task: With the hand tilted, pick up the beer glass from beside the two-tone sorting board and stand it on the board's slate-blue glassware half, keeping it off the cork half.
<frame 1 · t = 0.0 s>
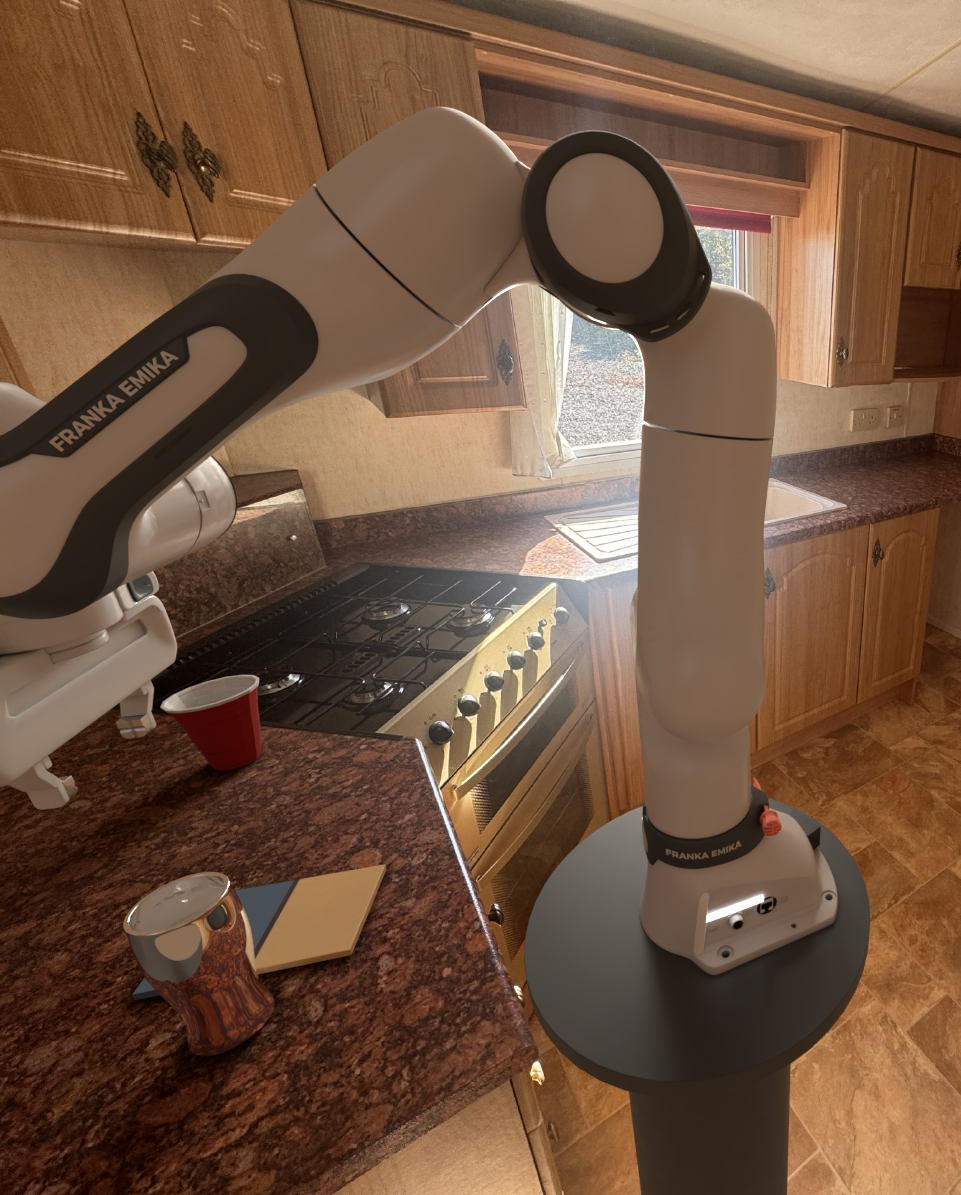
hand: (103, 765, 51), 26 cm above the countertop, tool pointing down, fingers open, 8 cm apart
plastic cup: (236, 759, 94), on the countertop
sorting board: (275, 927, 67), on the countertop
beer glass: (234, 1024, 58), on the countertop
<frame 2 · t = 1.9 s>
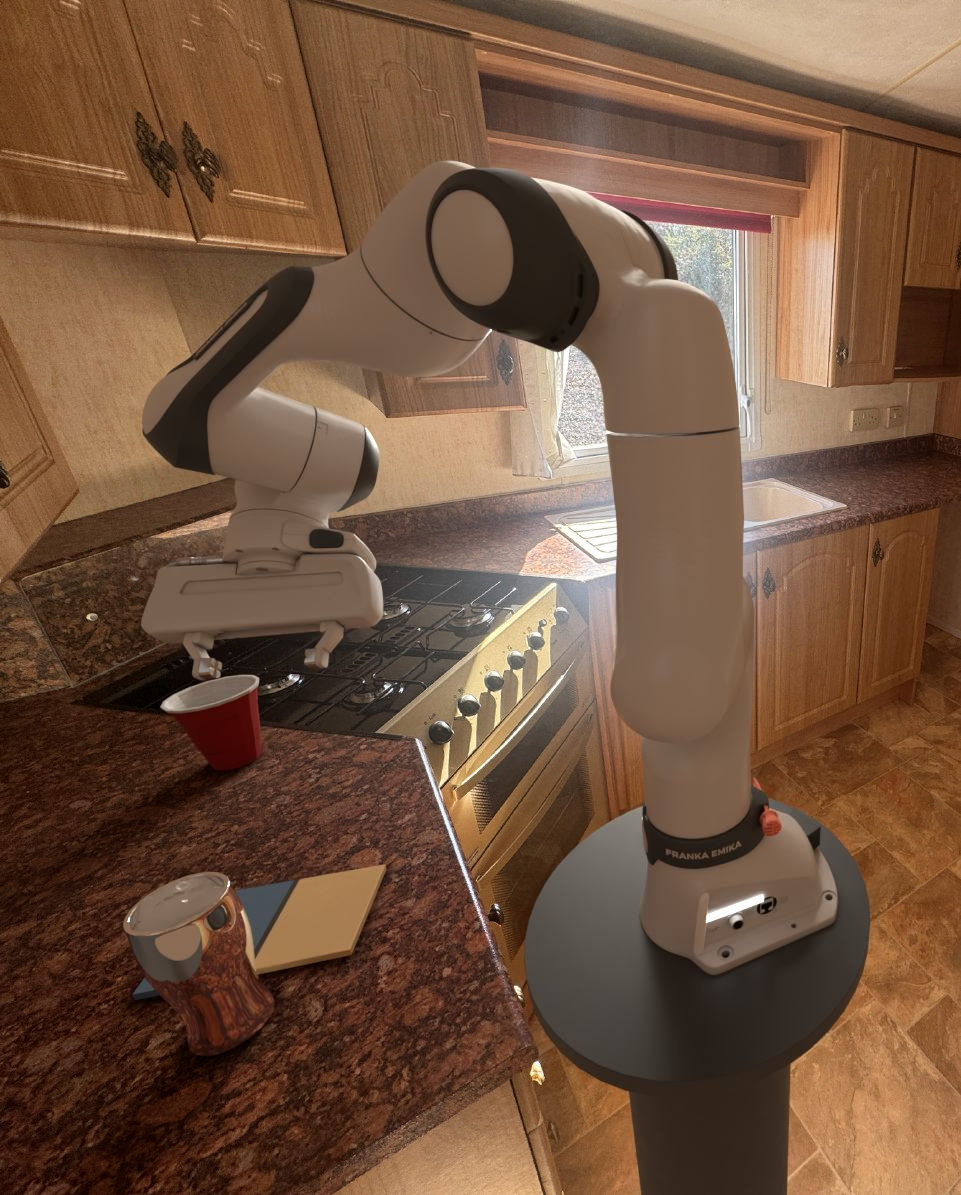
hand: (261, 672, 64), 27 cm above the countertop, tool tilted 45°, fingers open, 8 cm apart
nothing on the countertop moved.
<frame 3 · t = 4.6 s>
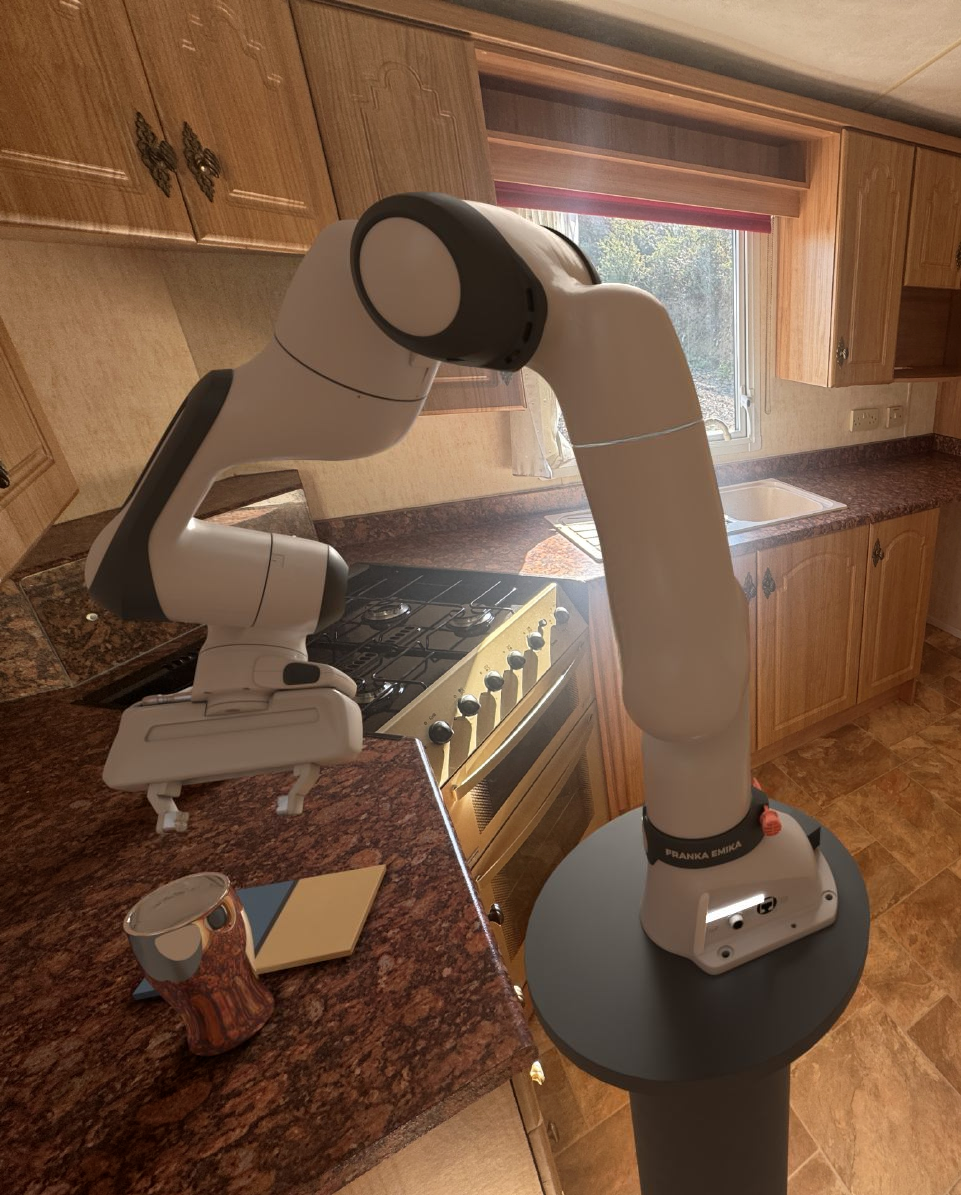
hand: (231, 823, 60), 16 cm above the countertop, tool tilted 45°, fingers open, 8 cm apart
nothing on the countertop moved.
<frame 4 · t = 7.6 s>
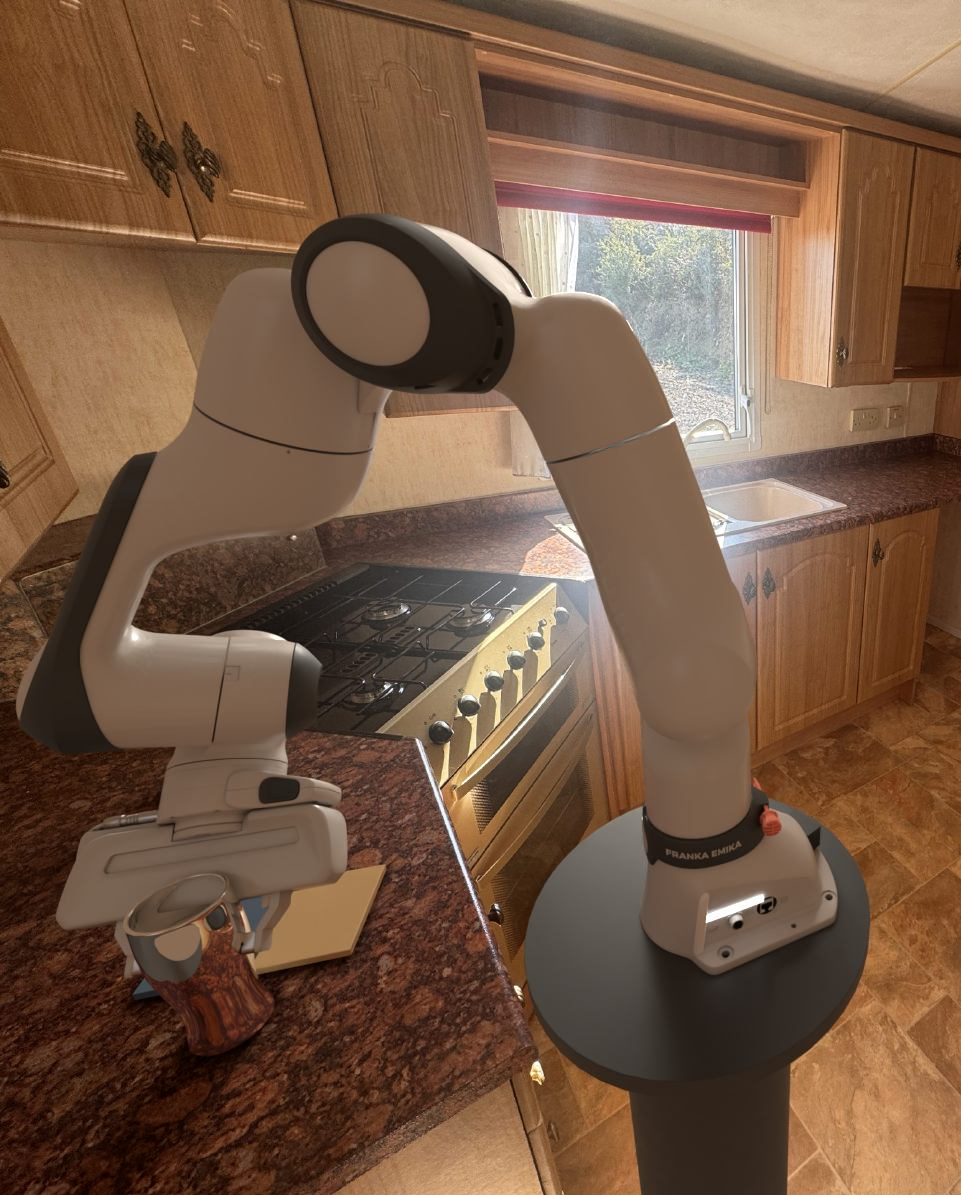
hand: (200, 964, 54), 8 cm above the countertop, tool tilted 45°, fingers closed on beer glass, 7 cm apart
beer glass: (234, 1024, 58), on the countertop, touching gripper
everything else where it was.
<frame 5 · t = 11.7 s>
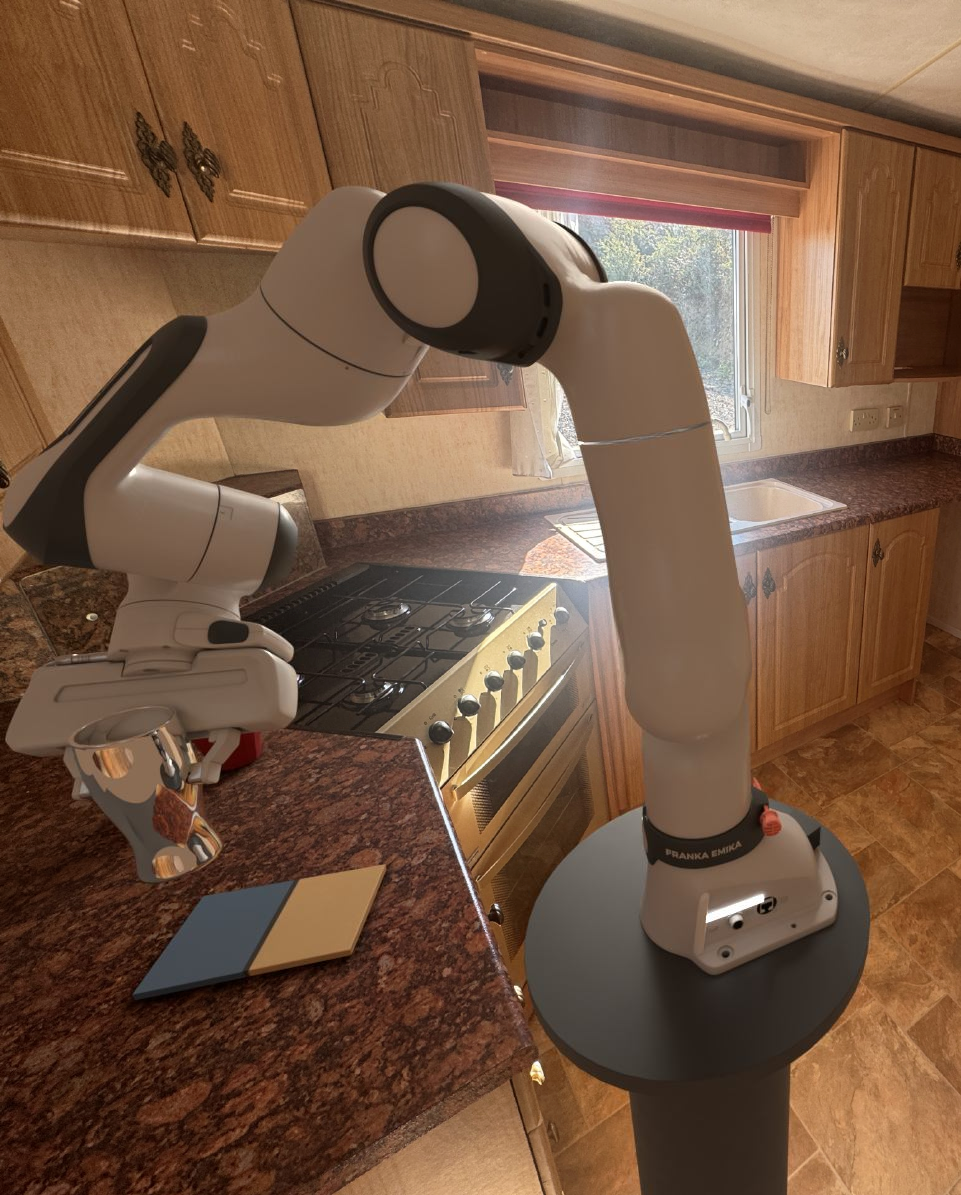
hand: (147, 791, 56), 21 cm above the countertop, tool tilted 45°, fingers closed on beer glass, 7 cm apart
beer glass: (183, 860, 59), point 13 cm above the countertop, touching gripper
everything else where it was.
when the fingers open (9 cm above the countertop, at t = 15.9 s): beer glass stays where it is, resting on sorting board.
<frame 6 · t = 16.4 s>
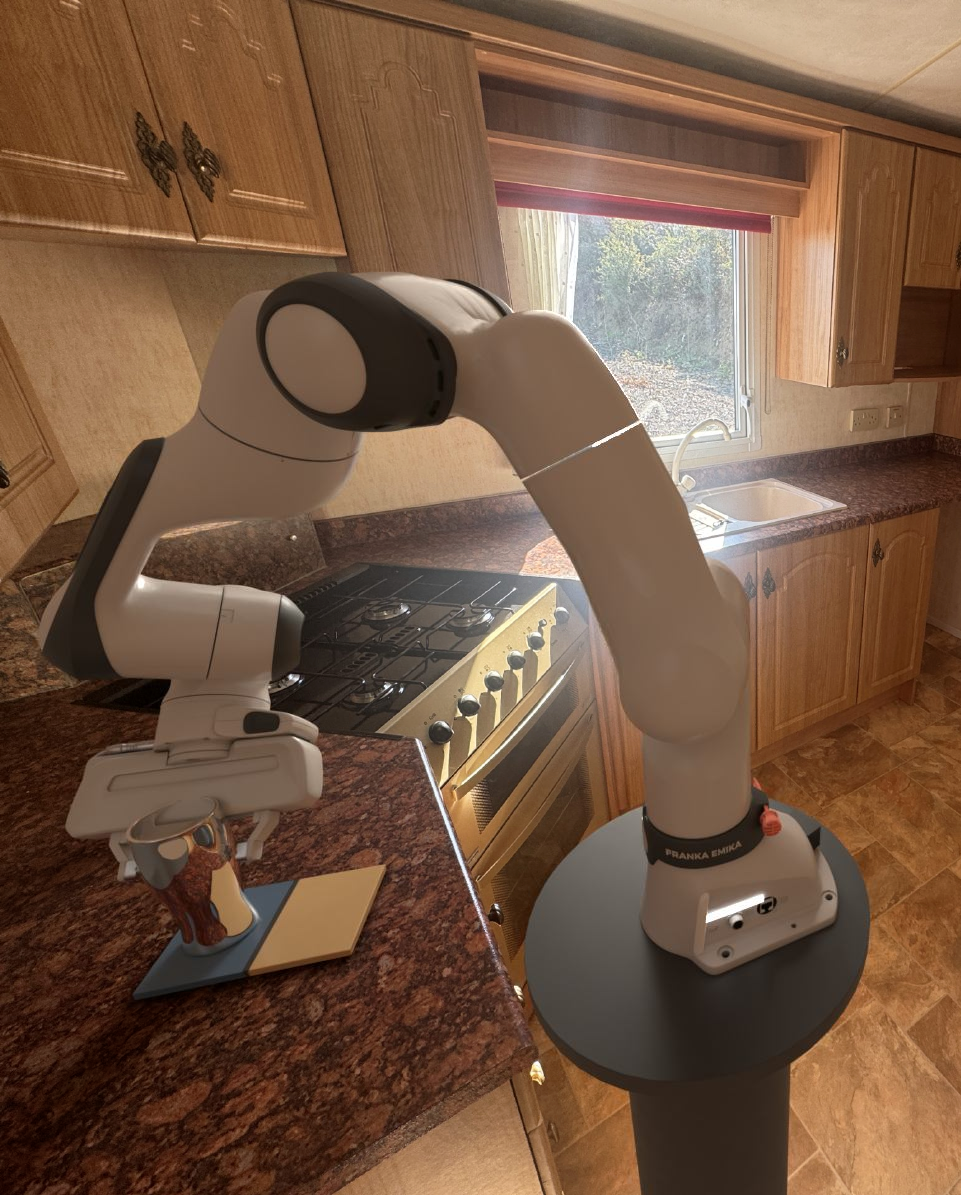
hand: (191, 870, 62), 10 cm above the countertop, tool tilted 45°, fingers open, 8 cm apart
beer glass: (223, 932, 66), point 1 cm above the countertop, touching sorting board
everything else where it was.
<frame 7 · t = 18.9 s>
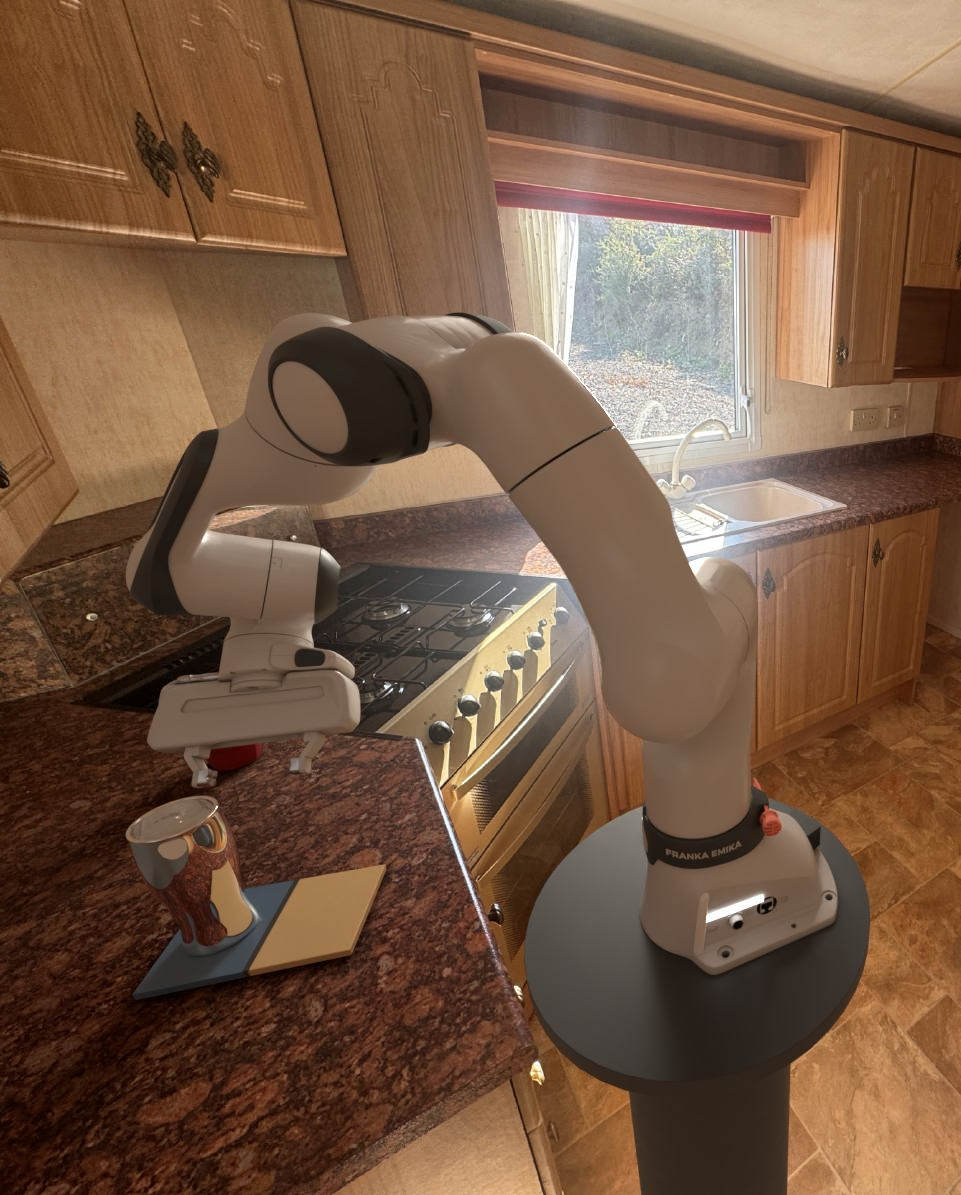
hand: (252, 780, 73), 11 cm above the countertop, tool tilted 45°, fingers open, 8 cm apart
nothing on the countertop moved.
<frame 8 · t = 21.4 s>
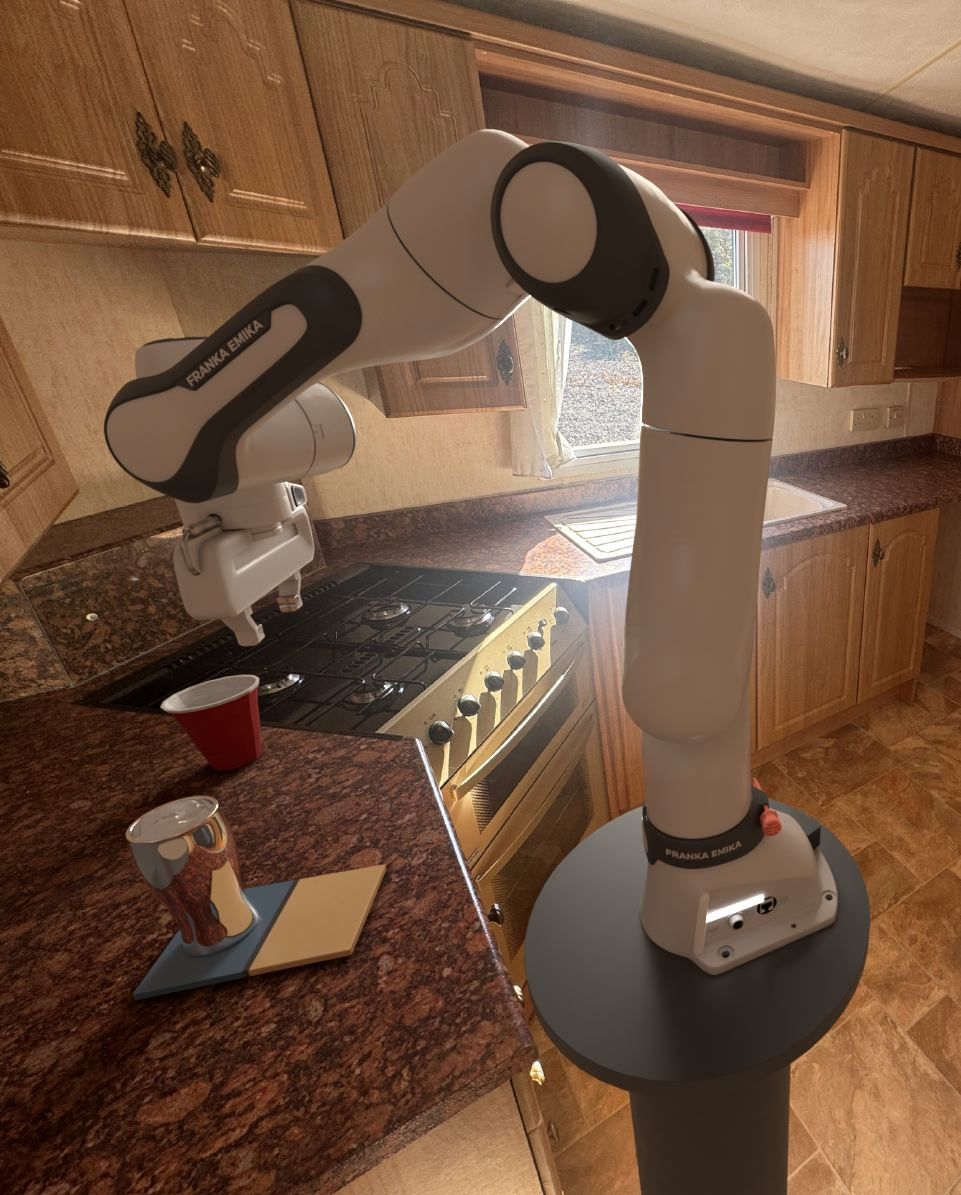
hand: (273, 625, 70), 29 cm above the countertop, tool pointing down, fingers open, 8 cm apart
nothing on the countertop moved.
at the end: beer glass inside the target area (0.5 cm from its centre), point 0.6 cm above the countertop; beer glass tilted 0°; the gripper is holding nothing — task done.
